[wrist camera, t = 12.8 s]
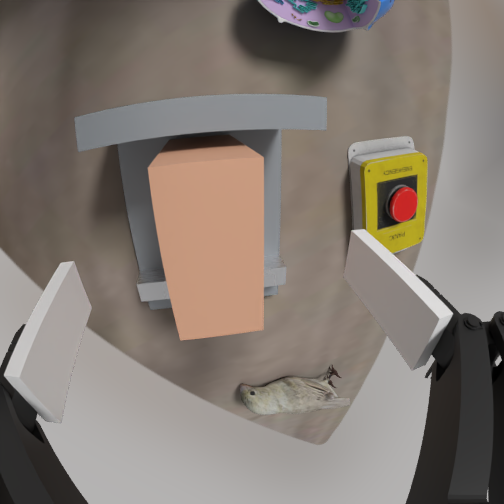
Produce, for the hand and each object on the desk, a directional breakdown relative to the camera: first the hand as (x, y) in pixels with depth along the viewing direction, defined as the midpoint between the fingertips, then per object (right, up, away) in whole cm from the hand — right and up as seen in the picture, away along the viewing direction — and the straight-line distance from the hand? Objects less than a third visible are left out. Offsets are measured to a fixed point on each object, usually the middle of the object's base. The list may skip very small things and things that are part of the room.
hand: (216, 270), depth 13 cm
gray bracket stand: (-3, +5, +14) cm, 15 cm away
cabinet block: (-3, +6, +12) cm, 13 cm away
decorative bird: (+7, -19, +29) cm, 36 cm away
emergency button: (+17, +7, +18) cm, 25 cm away
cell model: (+7, +24, +5) cm, 26 cm away
